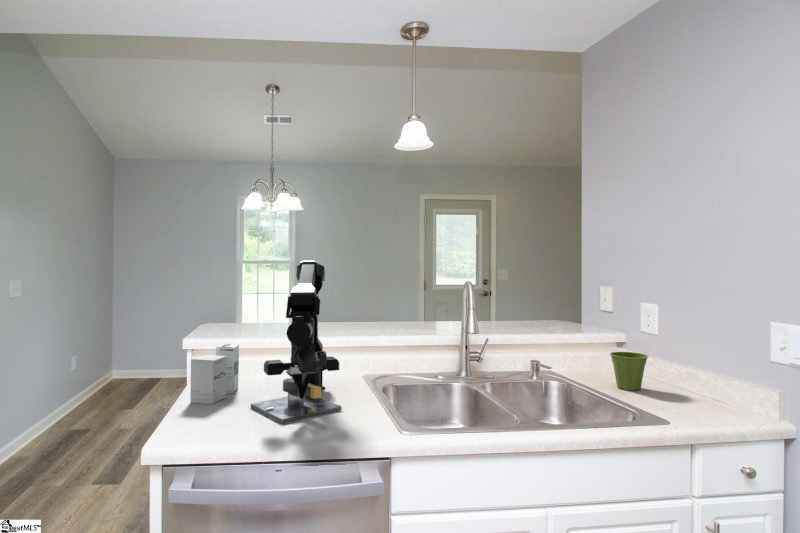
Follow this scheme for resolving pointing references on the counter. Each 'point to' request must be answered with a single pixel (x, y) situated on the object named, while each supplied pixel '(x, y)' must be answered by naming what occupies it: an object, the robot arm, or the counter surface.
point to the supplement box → (208, 379)
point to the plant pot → (628, 369)
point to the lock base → (294, 408)
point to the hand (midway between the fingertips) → (301, 398)
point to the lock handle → (310, 391)
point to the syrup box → (230, 365)
